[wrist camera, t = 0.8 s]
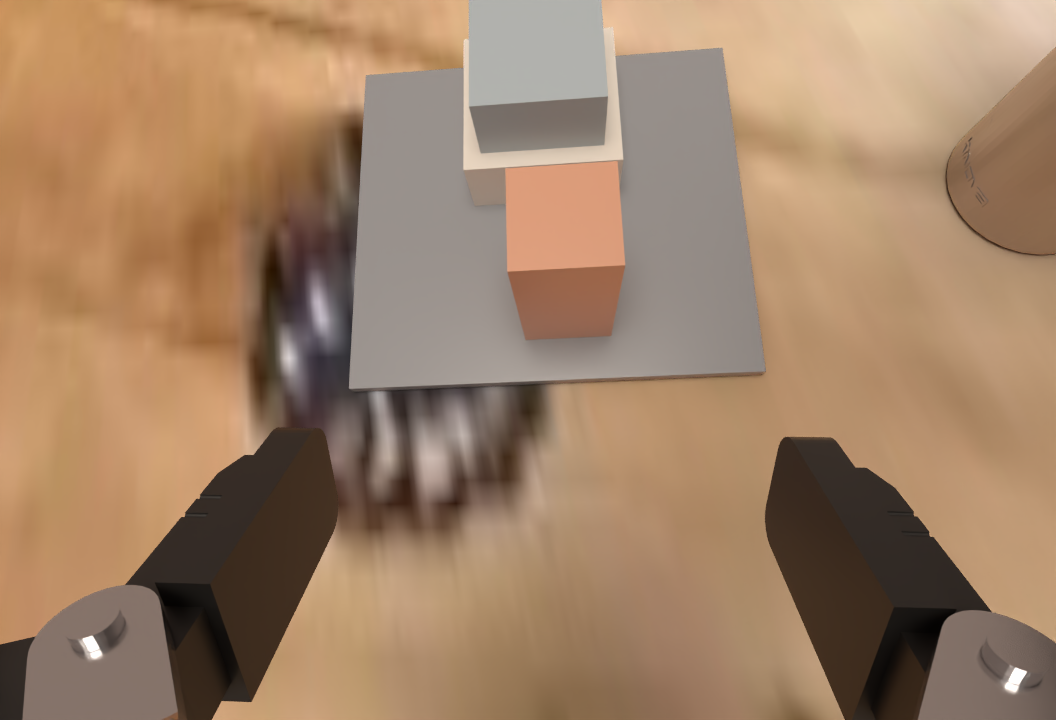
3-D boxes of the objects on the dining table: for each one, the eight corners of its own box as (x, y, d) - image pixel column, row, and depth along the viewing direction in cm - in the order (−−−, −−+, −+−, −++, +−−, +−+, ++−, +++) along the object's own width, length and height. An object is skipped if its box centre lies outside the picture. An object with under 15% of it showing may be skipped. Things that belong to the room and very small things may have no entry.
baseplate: (719, 56, 40) (722, 47, 39) (761, 374, 34) (765, 371, 34) (369, 83, 42) (365, 75, 41) (353, 391, 36) (349, 388, 35)
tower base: (609, 75, 39) (617, -33, 32) (618, 196, 37) (629, 112, 29) (474, 85, 40) (450, -19, 32) (474, 206, 38) (449, 124, 30)
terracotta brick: (605, 257, 36) (617, 161, 26) (611, 335, 35) (625, 265, 25) (523, 261, 36) (505, 168, 27) (525, 340, 35) (507, 271, 25)
